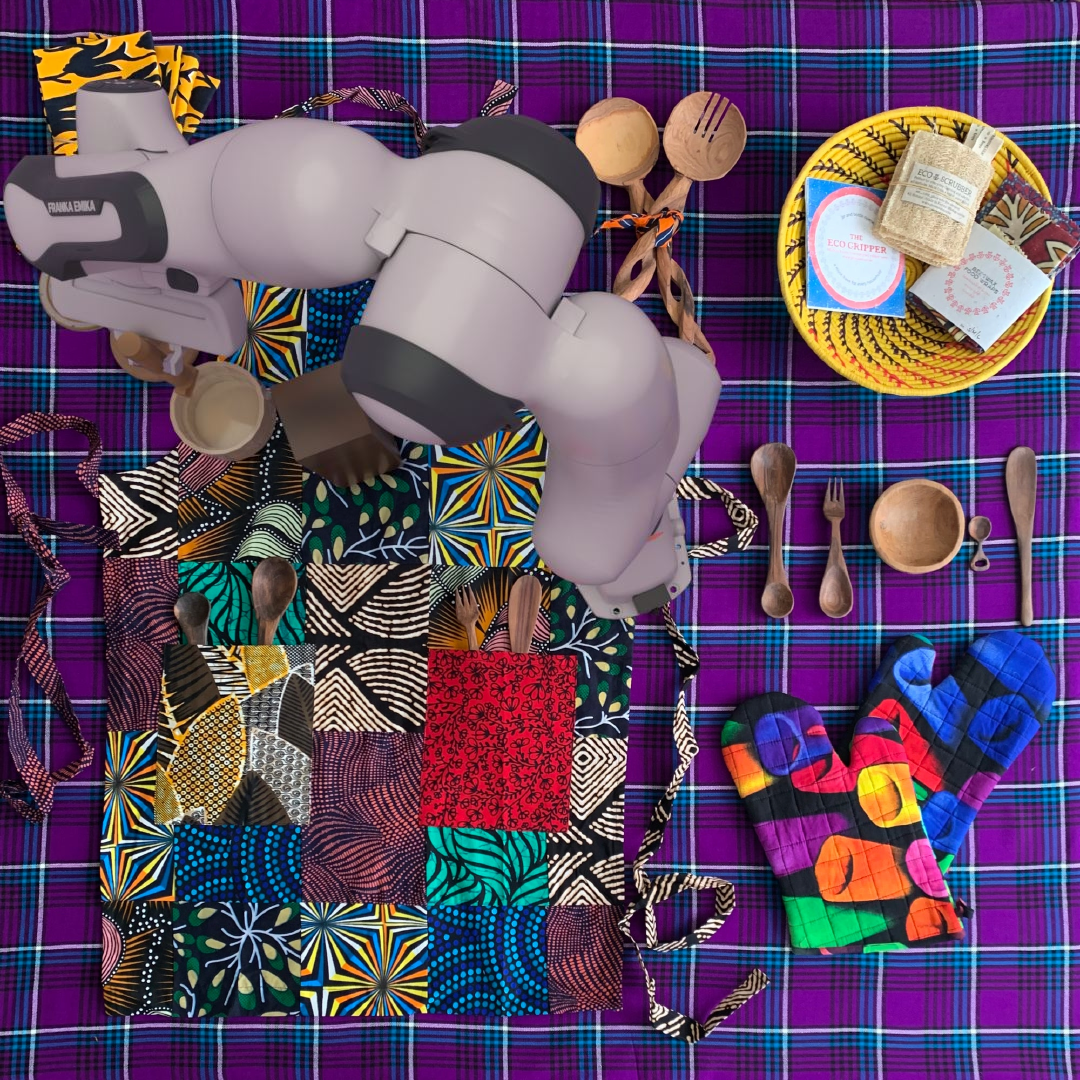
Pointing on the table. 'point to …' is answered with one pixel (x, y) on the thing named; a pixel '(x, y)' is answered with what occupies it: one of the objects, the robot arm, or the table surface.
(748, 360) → the table surface
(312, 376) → the stand
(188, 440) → the bowl
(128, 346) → the stick
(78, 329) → the candle holder
